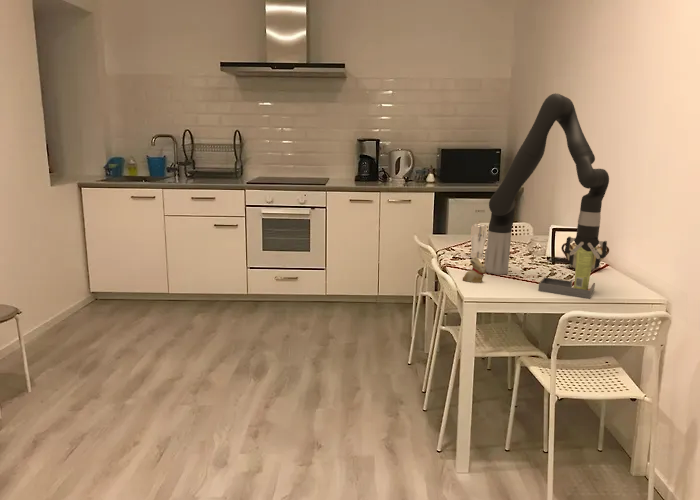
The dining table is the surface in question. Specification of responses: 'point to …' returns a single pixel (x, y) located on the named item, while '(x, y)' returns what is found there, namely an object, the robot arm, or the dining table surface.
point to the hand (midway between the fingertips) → (583, 266)
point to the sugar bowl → (575, 254)
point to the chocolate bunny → (475, 271)
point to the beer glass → (477, 240)
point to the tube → (583, 268)
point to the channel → (564, 288)
